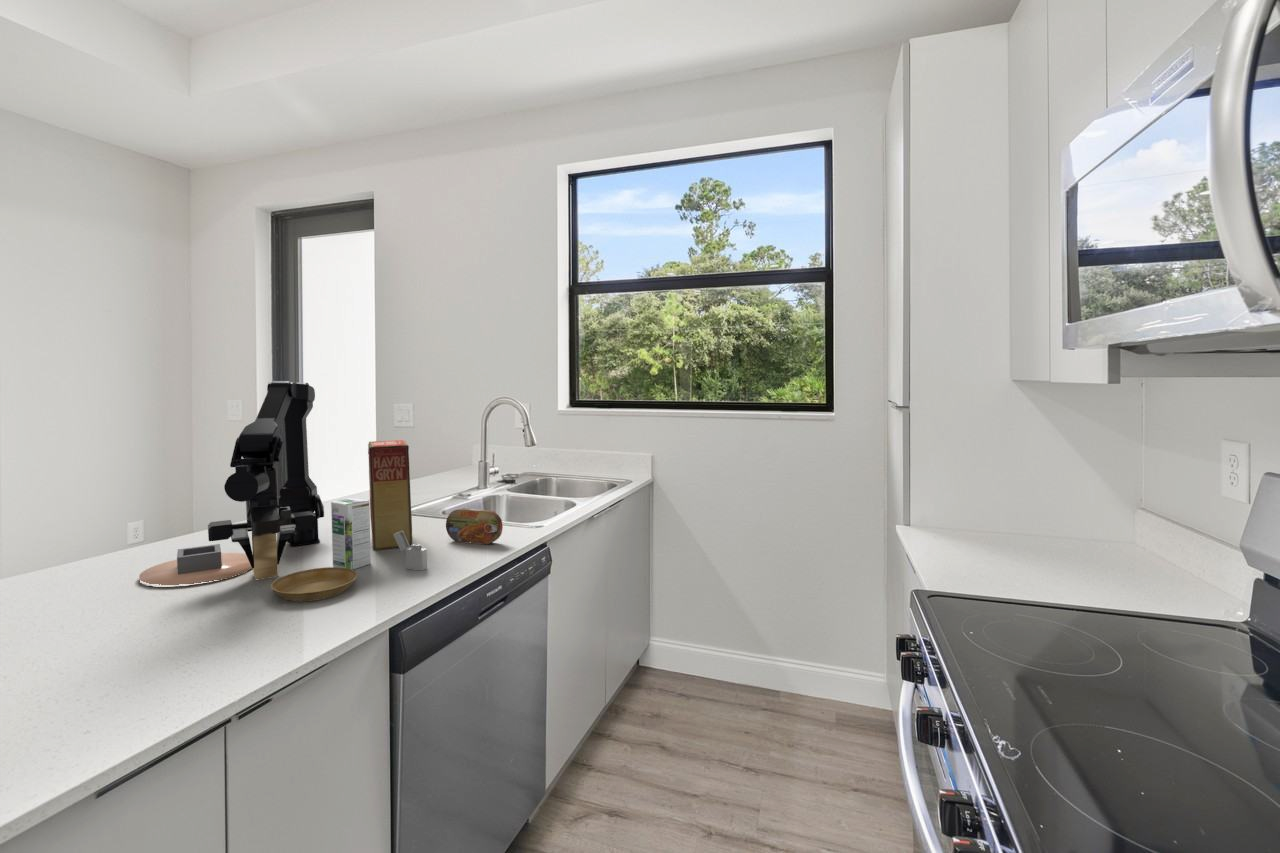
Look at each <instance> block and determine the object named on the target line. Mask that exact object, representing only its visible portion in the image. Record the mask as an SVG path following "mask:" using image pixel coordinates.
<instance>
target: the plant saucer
mask: <svg viewBox="0 0 1280 853" xmlns="http://www.w3.org/2000/svg"><path fill="white" fill-rule="evenodd" d="M357 577H358V572H357V571H355V569H353V570H351V569H347V568H339V567H333V566H332V567H331V566H328V567H318V568H309V569H304V570H300V571H296V572H292V573H289V574H286V575H283V576H281V577H279V578H277V579H275V580H273V581H272V583H271V584H270V588H271V590H272V591H273V592H275V594H276V595H278V596H279V597H281V598H283V599H285V600H287V601H289V600H290V602H300V601H302V602H312V601H320V600H321V601H322V600H324V599H329V598H332V597H335V596H338V595H340V594H341V593H343V592H345V591H346V590H347V589H349V588H350V586H351V585H352V584H353V583H354V582H355V580H356V579H357Z"/></svg>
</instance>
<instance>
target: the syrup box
mask: <svg viewBox="0 0 1280 853" xmlns="http://www.w3.org/2000/svg"><path fill="white" fill-rule="evenodd" d="M330 511H331V512H330V513H331V542H332V543H331V544H332V548H331V550H332V551H331V552H332V567H339V568H347V569H351V570H356V569H359V568H362V567H364V566H365V567H366V566H368V565H370V564H371V563H372V561H371V560H372V556H371V550H372V549H371V548H372V547H371V544H372V543H371V516H370V499H369V500H365V499H358V498H353V497H352V498H351V497H350V498H342V499H336V500H334V501H331V509H330Z"/></svg>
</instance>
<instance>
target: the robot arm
mask: <svg viewBox="0 0 1280 853" xmlns="http://www.w3.org/2000/svg"><path fill="white" fill-rule="evenodd" d="M266 388H267V389H266V390H267V393H266V395H265V397H264V399H263V402H262V404H261V406H260V409H259V410H258V413H257V415H256V418H255V420H254V421H253V422H251V423H249V424H247V425H246V426H245V427H244V428H243V429H242V431H241V433H240V434H239V435H238V437H237V438H236V439H235V444H234V447H233V452H232V457H231V460H230V463H229V465H230V468H235V473H232V474H230V475H229V476H228V477H227V478H226V480H225V483H224V485H223V486H224V492H225V494H226V496H227V497H228V498H230V499H231V500H232V501H235V502H239V503H244V502H245V510H246V512H245V514H246V522H239V523H232V520H231V519H227V520H225V519H224V520H219V521H210V522H209V523H208V524H207V536H208V542H217V541H225V540H229V539H231V543H238V544H239V545H240V547H241V548H242V550H243V551H244V554H246V556H247V558H248V560H249V562H250V565H251V567H252V568H254V558H253V549H252V543H251V541H250V536H249V533H248V532H251V535H252V534H253V535H255V536H260V535H262V534H269V533H272V534H275V533H276V543H277V565H278V566H279V564H280V561H281V558H282V555H283V553H284V550H285V547H286V544H289V546H290V547H296V546H305V545H310V544H318V543H320V542H321V540H320V538H319V519H321V518H324V517H325V507H324V504H323V502H322V500H321V496H320V495H319V494H318V487H317V485H316V483H314V482H313V480H312V479H311V477H310V474H309V473H310V470H309V456H308V455H309V450H308V434H307V433H308V431H307V418H308V416H309V415H310V413H311V412H312V410H313V408H314V402H315V398H316V390H315V387H313V386H311V385H310V384H309V383H308V382H292V381H291V380H272V381H271V382H270V381H269V382H268V384H267V387H266ZM283 423H284V437H285V438H284V440H285V441H284V440H283V438H282V436H281V433H280V430H281V428H282V426H283ZM284 449H285V456H286V457H285V460H286V461H285V462H286V477H287V480H286V481H285V483H284V484H283V486H282V487H281V488H280V490H279V486H278V485H279V484H278V482H279V481H278V465H279V464H278V463H279V462H281V459H282V455H283V453H284Z"/></svg>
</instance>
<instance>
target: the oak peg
mask: <svg viewBox="0 0 1280 853" xmlns="http://www.w3.org/2000/svg"><path fill="white" fill-rule="evenodd" d="M251 549H252V554H253V558H254V568H253V577H254V580H255V579H259V580H263V579H262V578H265V579H270V578H269V577H271V578H277V577H279V569H278V566H279V564H278V565H277V533H275V534H272V533H269V534H262V535H260V536H255V535H253V534H252V533H251ZM276 576H277V577H276Z"/></svg>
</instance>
